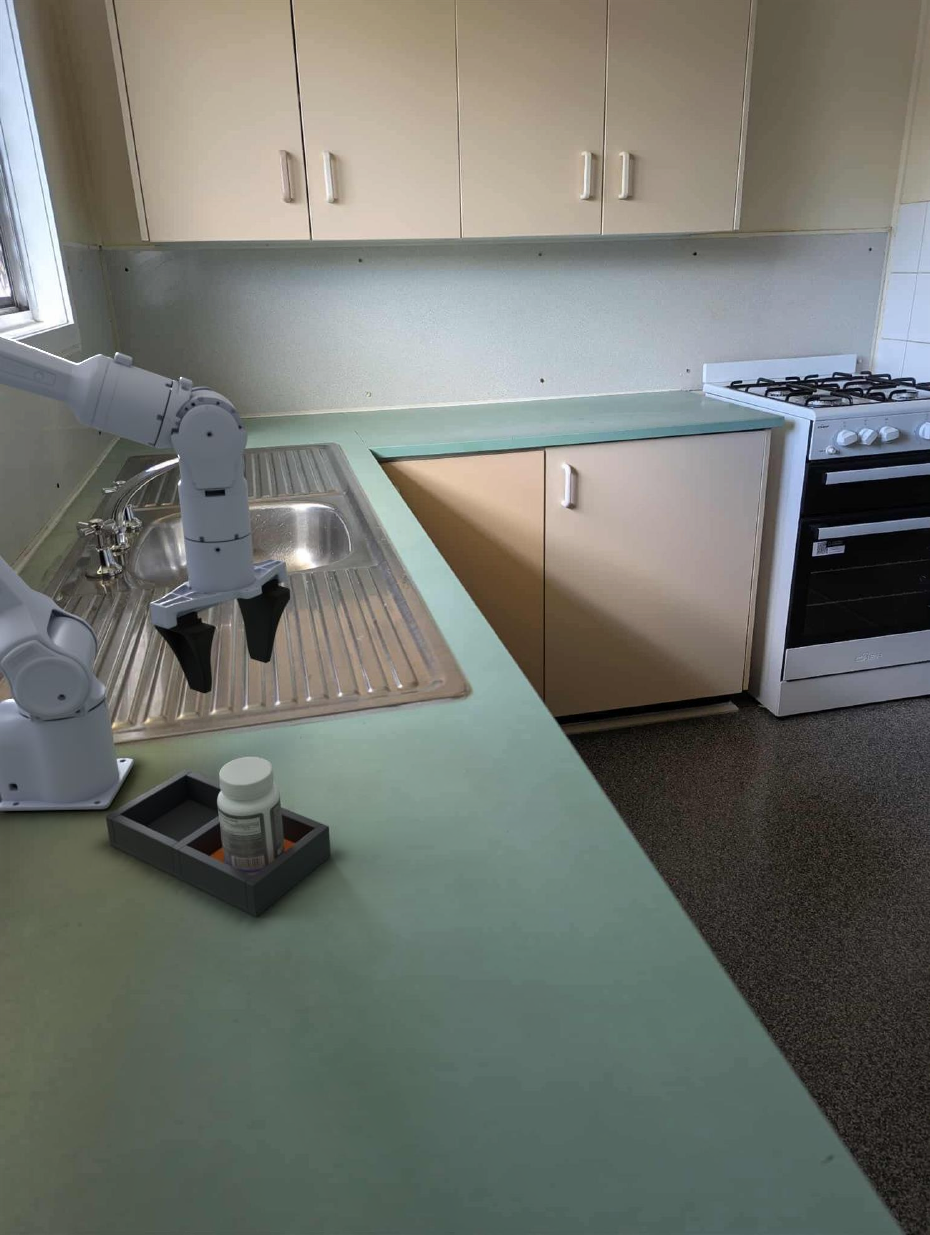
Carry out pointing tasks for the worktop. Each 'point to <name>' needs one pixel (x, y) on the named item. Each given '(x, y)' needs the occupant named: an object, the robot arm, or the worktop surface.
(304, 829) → the tray
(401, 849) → the worktop surface
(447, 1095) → the worktop surface
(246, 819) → the pill bottle
